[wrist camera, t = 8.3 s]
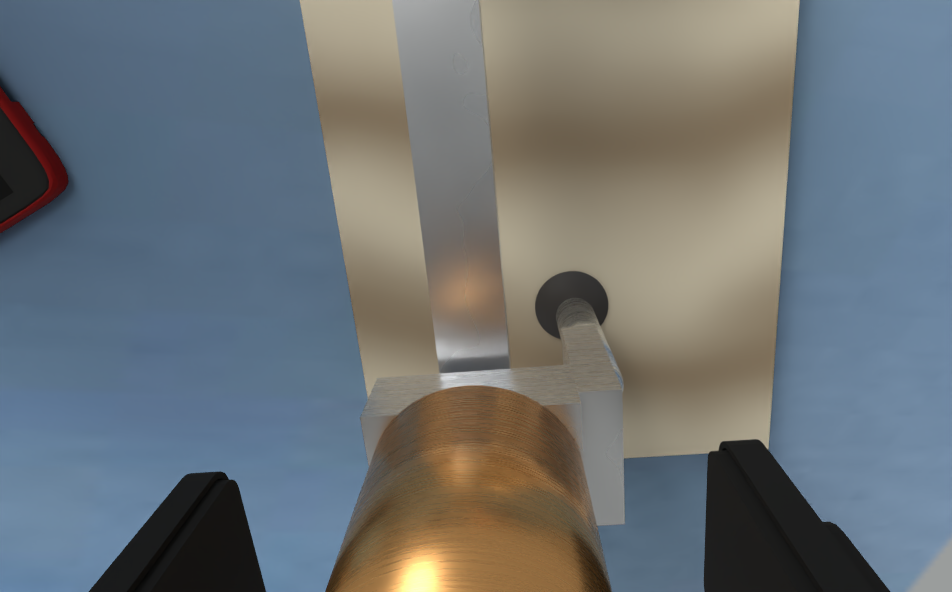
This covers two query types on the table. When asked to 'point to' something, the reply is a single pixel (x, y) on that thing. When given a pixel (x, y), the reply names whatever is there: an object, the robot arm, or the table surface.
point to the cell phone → (25, 166)
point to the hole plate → (589, 194)
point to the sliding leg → (492, 475)
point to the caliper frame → (454, 179)
